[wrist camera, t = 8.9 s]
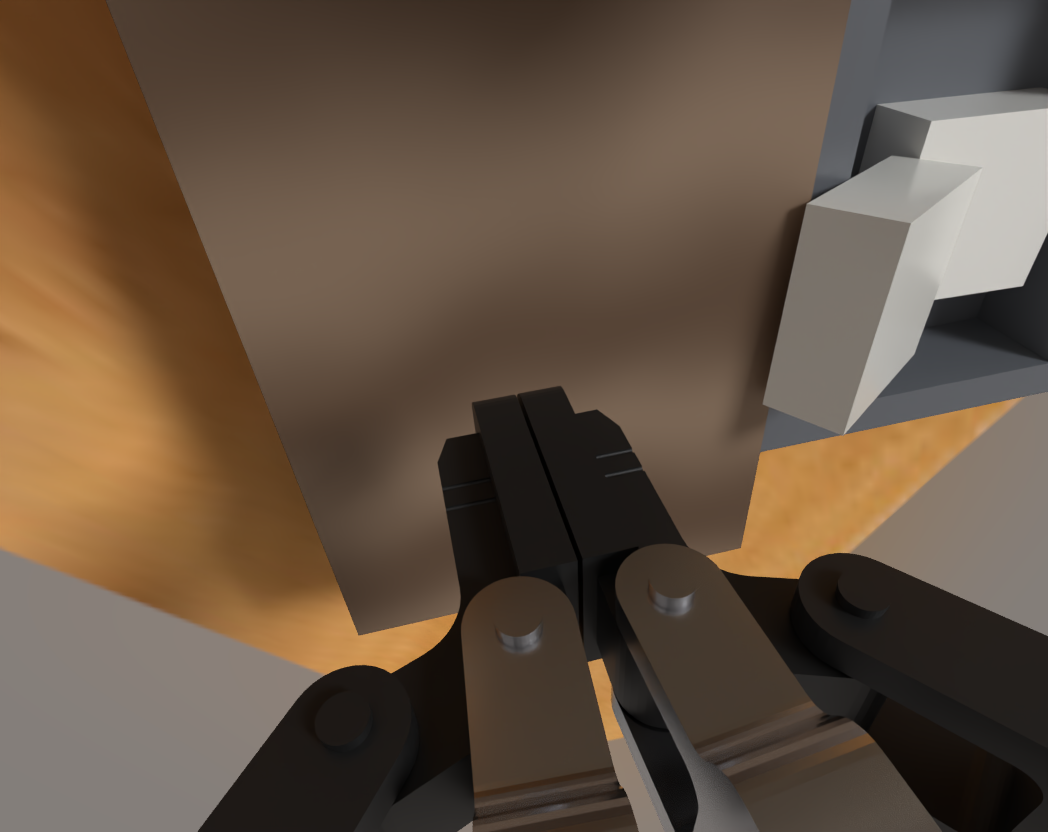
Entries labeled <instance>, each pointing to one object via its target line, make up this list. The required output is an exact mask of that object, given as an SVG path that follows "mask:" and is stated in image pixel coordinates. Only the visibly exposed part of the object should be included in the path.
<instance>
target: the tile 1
mask: <svg viewBox="0 0 1048 832" xmlns="http://www.w3.org/2000/svg"><path fill="white" fill-rule="evenodd" d="M982 168H983V167H976V166H969V165H961V164H954V163H946V162H939V161H931V160H924V159H916V158H909V157H901V156H893V155H892V156H890V157H888V158H887V159H885V160H883V161H881V162H879V163H878V164H876V165H874V166H872V167H871V168H869V169H867V170H865V171H864V172H862V173H860V174H858V175H857V176H855V177H853V178H851V179H849V180H848V181H846V182H844V183H842V184H841V185H839V186H837V187H835V188H834V189H832V190H830V191H828V192H827V193H825V194H823V195H821V196H819V197H818V198H816V199H814V200H812V201H811V202H809V203H807V205H806V209H805V214H804V218H803V223H802V227H801V232H800V236H799V241H798V245H797V250H796V255H795V259H794V264H793V268H792V273H791V277H790V282H789V286H788V291H787V295H786V300H785V304H784V309H783V314H782V318H781V323H780V327H779V332H778V336H777V341H776V345H775V350H774V354H773V359H772V363H771V368H770V373H769V377H768V382H767V386H766V391H765V395H764V400H763V405H765V406H768V407H771V408H773V409H776V410H778V411H781V412H783V413H786V414H789V415H791V416H794V417H796V418H799V419H801V420H804V421H807V422H809V423H812V424H814V425H817V426H819V427H822V428H825V429H827V430H830V431H832V432H835V433H837V434H840V435H844V434H845V433H846V432H847V431H848V430H849V429H850V427H851V426H852V425H853V424H854V423H855V422H856V420H857V419H858V418H859V417H860V416H861V415H862V414H863V412H864V411H865V410H866V409H867V408H868V407H869V406H870V404H871V403H872V402H873V401H874V400H875V399H876V398H877V396H878V395H879V394H880V393H881V392H882V391H883V390H884V388H885V387H886V386H887V385H888V384H889V383H890V382H891V380H892V379H893V378H894V377H895V376H896V375H897V373H898V372H899V371H900V370H901V369H902V368H903V367H904V365H905V364H906V363H907V362H908V361H909V360H910V359H911V357H912V356H913V355H914V354H915V351H916V348H917V346H918V343H919V340H920V337H921V335H922V332H923V329H924V327H925V324H926V321H927V318H928V316H929V313H930V310H931V307H932V305H933V302H934V299H935V296H936V294H937V291H938V288H939V286H940V283H941V280H942V277H943V275H944V272H945V269H946V266H947V264H948V261H949V258H950V256H951V253H952V250H953V247H954V245H955V242H956V239H957V236H958V234H959V231H960V228H961V226H962V223H963V220H964V217H965V215H966V212H967V209H968V206H969V204H970V201H971V198H972V195H973V193H974V190H975V187H976V185H977V182H978V179H979V176H980V174H981V171H982Z"/></svg>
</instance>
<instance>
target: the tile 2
mask: <svg viewBox="0 0 1048 832" xmlns="http://www.w3.org/2000/svg"><path fill="white" fill-rule="evenodd" d="M892 155H893V156H901V157H909V158H916V159H924V160H931V161H939V162H946V163H954V164H961V165H969V166H976V167H983V168H982V171H981V174H980V176H979V179H978V182H977V185H976V187H975V190H974V193H973V195H972V198H971V201H970V204H969V206H968V209H967V212H966V215H965V217H964V220H963V223H962V226H961V228H960V231H959V234H958V236H957V239H956V242H955V245H954V247H953V250H952V253H951V256H950V258H949V261H948V264H947V266H946V269H945V272H944V275H943V277H942V280H941V283H940V286H939V288H938V291H937V294H936V296H935V299H934V300H937V299H943V298H950V297H956V296H962V295H969V294H975V293H982V292H988V291H994V290H1001V289H1007V288H1014V287H1020V286H1023V285H1024V282H1025V280H1026V278H1027V276H1028V274H1029V272H1030V270H1031V267H1032V265H1033V263H1034V261H1035V259H1036V257H1037V255H1038V252H1039V250H1040V248H1041V246H1042V244H1043V242H1044V240H1045V237H1046V235H1047V233H1048V89H1047V88H1042V87H1038V88H1029V89H1019V90H1010V91H1000V92H990V93H981V94H971V95H962V96H952V97H943V98H933V99H923V100H914V101H904V102H895V103H885V104H877V106H876V110H875V114H874V118H873V121H872V125H871V129H870V133H869V136H868V140H867V144H866V148H865V151H864V155H863V159H862V163H861V166H860V170H859V174H860V173H862V172H864V171H865V170H867V169H869V168H871V167H872V166H874V165H876V164H878V163H879V162H881V161H883V160H885V159H887V158H888V157H890V156H892Z"/></svg>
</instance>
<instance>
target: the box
mask: <svg viewBox="0 0 1048 832" xmlns="http://www.w3.org/2000/svg"><path fill="white" fill-rule="evenodd" d="M1038 87H1042V88H1047V89H1048V0H851V5H850V10H849V14H848V19H847V24H846V29H845V34H844V39H843V44H842V49H841V54H840V59H839V64H838V69H837V74H836V79H835V84H834V89H833V94H832V99H831V104H830V109H829V113H828V118H827V123H826V128H825V133H824V138H823V143H822V148H821V153H820V158H819V163H818V168H817V173H816V178H815V183H814V188H813V193H812V198H811V201H812V200H814V199H816V198H818V197H819V196H821V195H823V194H825V193H827V192H828V191H830V190H832V189H834V188H835V187H837V186H839V185H841V184H842V183H844V182H846V181H848V180H849V179H851V178H853V177H855V176H857V175H858V174H859V170H860V166H861V163H862V159H863V155H864V151H865V148H866V144H867V140H868V136H869V133H870V129H871V125H872V121H873V118H874V114H875V110H876V106H877V104H885V103H895V102H904V101H914V100H923V99H933V98H943V97H952V96H962V95H971V94H981V93H990V92H1000V91H1010V90H1019V89H1029V88H1038ZM1044 392H1048V233H1047V235H1046V237H1045V240H1044V242H1043V244H1042V246H1041V248H1040V250H1039V252H1038V255H1037V257H1036V259H1035V261H1034V263H1033V265H1032V267H1031V270H1030V272H1029V274H1028V276H1027V278H1026V280H1025V282H1024V285H1023V286H1020V287H1014V288H1007V289H1001V290H994V291H988V292H982V293H975V294H969V295H962V296H956V297H950V298H943V299H937V300H934V302H933V305H932V307H931V310H930V313H929V316H928V318H927V321H926V324H925V327H924V329H923V332H922V335H921V337H920V340H919V343H918V346H917V348H916V351H915V354H914V355H913V356H912V357H911V359H910V360H909V361H908V362H907V363H906V364H905V365H904V367H903V368H902V369H901V370H900V371H899V372H898V373H897V375H896V376H895V377H894V378H893V379H892V380H891V382H890V383H889V384H888V385H887V386H886V387H885V388H884V390H883V391H882V392H881V393H880V394H879V395H878V396H877V398H876V399H875V400H874V401H873V402H872V403H871V404H870V406H869V407H868V408H867V409H866V410H865V411H864V412H863V414H862V415H861V416H860V417H859V418H858V419H857V420H856V422H855V423H854V424H853V425H852V426H851V427H850V429H849V430H848V431H847V432H846V433H845V434H848V433H853V432H858V431H863V430H867V429H872V428H877V427H882V426H886V425H891V424H896V423H901V422H906V421H910V420H915V419H920V418H925V417H929V416H934V415H939V414H944V413H948V412H953V411H958V410H963V409H967V408H972V407H977V406H982V405H987V404H991V403H996V402H1001V401H1006V400H1010V399H1015V398H1020V397H1025V396H1029V395H1034V394H1039V393H1044ZM839 435H840V434H837V433H835V432H832V431H830V430H827V429H825V428H822V427H819V426H817V425H814V424H812V423H809V422H807V421H804V420H801V419H799V418H796V417H794V416H791V415H789V414H786V413H783V412H781V411H778V410H776V409H773V408H771V407H769V410H768V415H767V420H766V425H765V430H764V435H763V440H762V445H761V450H760V452H763V451H767V450H772V449H777V448H782V447H786V446H791V445H796V444H801V443H805V442H810V441H815V440H820V439H825V438H829V437H834V436H839Z"/></svg>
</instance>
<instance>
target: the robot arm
mask: <svg viewBox="0 0 1048 832" xmlns="http://www.w3.org/2000/svg"><path fill="white" fill-rule="evenodd" d="M472 411H473V418H474V425H475V432H476V433H474V434H469V435H464V436H459V437H454V438H448V439H446V441H445V444H444V447H443V449H442V452H441V454H440V457H439V460H438V462H437V463H438V469H439V475H440V480H441V486H442V491H443V497H444V503H445V508H446V514H447V519H448V525H449V531H450V536H451V542H452V548H453V553H454V559H455V564H456V570H457V576H458V581H459V587H460V596H461V599H460V608H459V611H458V615H457V617H456V620H455V622H454V624H453V626H452V627H451V629H450V630H449V632H448V633H447V635H446V636H445V637H444V638H443V639H442V640H441V641H440V642H439V643H438V644H437V645H436V646H435V647H434V648H432V649H431V650H430V651H428V652H427V653H425V654H424V655H422V656H421V657H419V658H417V659H415V660H414V661H412V662H410V663H409V664H407V665H405V666H404V667H402V668H400V669H398V670H397V671H395V672H393V673H392V674H391V673H389V672H387V671H386V670H384V669H381V668H378V667H375V666H367V665H355V666H349V667H344V668H341V669H338V670H335V671H333V672H331V673H329V674H327V675H325V676H323V677H322V678H320V679H319V680H317V681H316V682H314V683H313V684H312V685H311V686H310V687H309V688H308V689H307V690H305V691H304V692H303V694H302V695H301V696H300V697H299V698H298V699H297V701H296V702H295V703H294V704H293V706H292V707H291V708H290V710H289V711H288V712H287V714H286V715H285V716H284V718H283V719H282V720H281V722H280V723H279V724H278V726H277V727H276V728H275V730H274V731H273V732H272V734H271V735H270V736H269V738H268V739H267V740H266V741H265V743H264V744H263V745H262V747H261V748H260V750H259V751H258V752H257V753H256V755H255V756H254V757H253V759H252V760H251V761H250V763H249V764H248V765H247V767H246V768H245V769H244V771H243V772H242V773H241V775H240V776H239V777H238V779H237V780H236V782H235V783H234V784H233V785H232V787H231V788H230V789H229V791H228V792H227V793H226V795H225V796H224V797H223V799H222V800H221V801H220V803H219V804H218V805H217V807H216V808H215V809H214V810H213V812H212V813H211V814H210V816H209V817H208V818H207V820H206V821H205V823H204V824H203V825H202V827H201V828H200V829H199V830H198V832H457V831H459V830H460V829H462V828H463V827H464V826H466V825H467V824H469V823H470V822H471V821H473V832H639V831H638V828H637V824H636V820H635V817H634V814H633V810H632V808H631V805H630V802H629V799H628V797H627V794H626V792H625V791H624V788H623V787H621V786H620V784H619V782H618V779H617V776H616V773H615V770H614V766H613V763H612V759H611V755H610V751H609V747H608V743H607V739H606V735H605V731H604V726H603V722H602V718H601V714H600V710H599V706H598V702H597V698H596V694H595V690H594V686H593V682H592V678H591V674H590V670H589V666H588V662H589V661H593V660H597V659H601V658H602V659H603V662H604V664H605V667H606V670H607V673H608V676H609V678H610V681H611V684H612V686H611V703H612V708H613V711H614V714H615V717H616V719H617V722H618V724H619V726H620V729H621V731H622V733H623V736H624V738H625V740H626V743H627V745H628V747H629V749H630V752H631V754H632V757H633V759H634V761H635V764H636V766H637V768H638V771H639V773H640V775H641V777H642V780H643V782H644V784H645V787H646V789H647V791H648V794H649V796H650V798H651V801H652V803H653V805H654V807H655V810H656V812H657V814H658V817H659V819H660V822H661V824H662V826H663V829H664V831H665V832H1048V636H1046V635H1044V634H1042V633H1039V632H1037V631H1034V630H1033V629H1030V628H1028V627H1026V626H1023V625H1021V624H1019V623H1017V622H1014V621H1012V620H1010V619H1008V618H1005V617H1003V616H1001V615H999V614H996V613H994V612H992V611H990V610H987V609H985V608H983V607H980V606H978V605H976V604H974V603H971V602H969V601H967V600H965V599H962V598H960V597H958V596H956V595H953V594H951V593H949V592H947V591H944V590H942V589H940V588H938V587H935V586H933V585H931V584H929V583H926V582H924V581H921V580H919V579H917V578H915V577H913V576H910V575H908V574H906V573H904V572H901V571H899V570H897V569H894V568H892V567H890V566H887V565H885V564H883V563H881V562H879V561H876V560H873V559H871V558H868V557H864V556H861V555H856V554H849V553H834V554H827V555H824V556H821V557H818V558H816V559H814V560H813V561H811V562H810V563H809V564H808V565H807V566H806V567H805V568H804V570H803V571H802V573H801V576H800V578H799V579H787V578H770V577H754V576H744V575H738V574H734V573H729V572H727V571H724V570H721V569H719V568H718V566H717V565H716V564H715V563H714V562H713V561H711V560H710V559H709V558H708V557H706V556H705V555H703V554H702V553H700V552H698V551H696V550H694V549H691V548H689V547H688V546H687V544H686V543H685V542H684V540H683V539H682V537H681V535H680V533H679V531H678V530H677V528H676V526H675V524H674V522H673V521H672V519H671V517H670V515H669V513H668V512H667V510H666V508H665V506H664V504H663V503H662V501H661V499H660V497H659V496H658V494H657V492H656V490H655V488H654V487H653V485H652V483H651V481H650V479H649V478H648V476H647V474H646V472H645V471H643V469H642V465H641V463H640V461H639V460H638V458H637V456H636V454H635V452H633V451H632V447H631V445H630V444H629V442H628V440H627V438H626V436H625V435H624V433H623V431H622V429H621V427H620V426H619V425H618V424H616V423H615V422H614V421H612V420H611V419H610V418H608V417H607V416H605V415H604V414H603V413H601V412H600V411H599V410H597V409H596V410H591V411H586V412H581V413H576V414H575V412H574V410H573V408H572V406H571V404H570V402H569V400H568V398H567V395H566V393H565V391H564V389H563V388H562V387H561V386H556V387H550V388H545V389H540V390H534V391H529V392H524V393H518V394H517V397H516V395H509V396H503V397H498V398H493V399H488V400H482V401H477V402H472Z"/></svg>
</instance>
